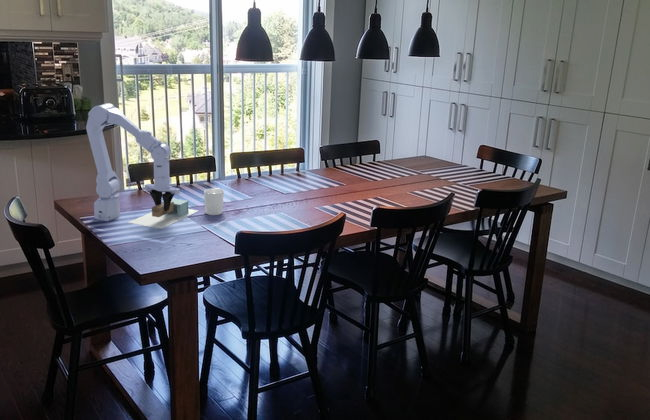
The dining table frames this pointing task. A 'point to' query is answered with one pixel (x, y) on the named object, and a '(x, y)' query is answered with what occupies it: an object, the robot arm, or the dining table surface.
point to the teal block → (180, 207)
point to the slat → (161, 209)
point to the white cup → (213, 201)
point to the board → (160, 219)
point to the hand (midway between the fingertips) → (162, 209)
